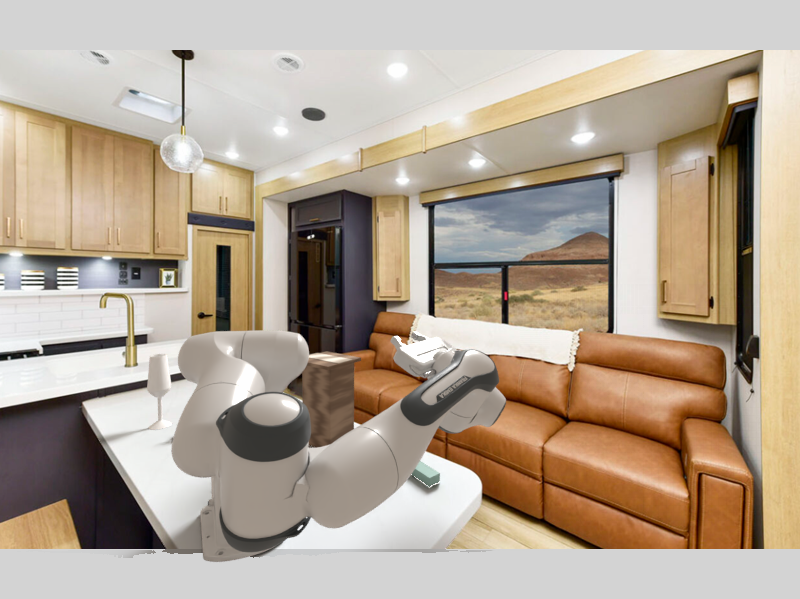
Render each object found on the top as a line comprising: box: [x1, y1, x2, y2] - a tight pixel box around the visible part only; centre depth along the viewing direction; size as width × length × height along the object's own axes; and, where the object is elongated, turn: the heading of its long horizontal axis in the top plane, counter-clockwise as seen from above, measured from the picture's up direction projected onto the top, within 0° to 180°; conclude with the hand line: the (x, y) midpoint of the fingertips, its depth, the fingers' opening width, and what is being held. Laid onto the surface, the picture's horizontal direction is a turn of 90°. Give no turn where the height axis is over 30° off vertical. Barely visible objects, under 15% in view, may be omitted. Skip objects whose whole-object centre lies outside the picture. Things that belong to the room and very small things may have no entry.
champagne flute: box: [146, 353, 173, 431], centre depth 117 cm, size 7×7×24 cm
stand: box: [301, 351, 362, 448], centre depth 107 cm, size 15×14×26 cm
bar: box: [412, 460, 441, 487], centre depth 93 cm, size 19×4×3 cm, turn 39°
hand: (403, 335), depth 90 cm, fingers open, 8 cm apart
